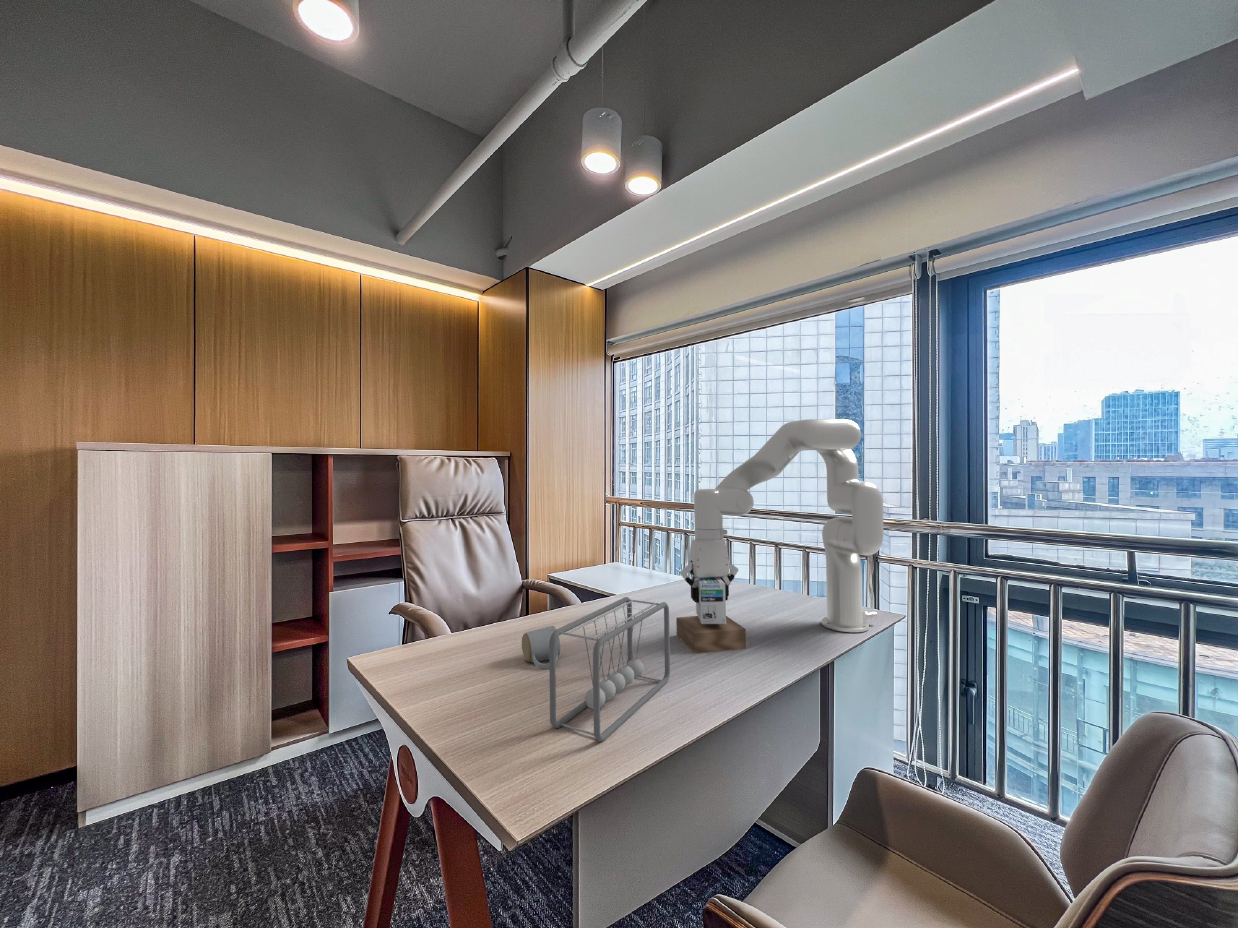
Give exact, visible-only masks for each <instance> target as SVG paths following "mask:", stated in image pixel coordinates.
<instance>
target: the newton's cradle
mask: <svg viewBox="0 0 1238 928" xmlns="http://www.w3.org/2000/svg"><path fill="white" fill-rule="evenodd" d="M633 603H639V604H640V603H641V604H649V606H647V607H645V608H640V610H639V607H638V608H636V607H634V609H635V610H639V611H638V612H637V613H633V606H632V605H633ZM625 607H626V611H625ZM621 608H623V611H621V613H622V614H624V619H623V617H618V619H620V620H622V621H620V622H618V621H617V615H616V613H619V611H618V610H619V609H621ZM662 609H663V627H664V628H663V629H664V630H663V631H664V632H663V634H664V674H663V675H664V676H663V678H662V679H658V678H654V677H649V676H645V675H642V674H643V673H644V669H645V668H644V663H643V662H642V661H641V660H640V659H638V658H637V657H638V654H639V653H638V651H639V646H640V639H641V633H642V631H641V630H642V625H643V620H645V619H647V618H650V617H651V616H652V615H654V614H656V613H657V612H659V611H661V610H662ZM611 613H613V614H614V616H612V618H613V619H614V620H615V624H614V623H612V626H611V627H609V628H608V626H607V624H609V625H611V623H609V622H607V619H606V618H608V617H609V618H611V616H608V615H610V614H611ZM603 617H604V621H605V622H604V621H600V623H601V624H602V623H603V624H605V629H603V631H602V629H601V628H597V624H596V622H597V623H599V621H598V620H599V619H602V618H603ZM640 622H641V623H640ZM592 623H594V628H593V627H592V629H594V630H595V634H596V635H595V636H592V637H591V636H586V630H585V627H586V628H588V629H591V627H589V626H588V625H590V624H592ZM638 623H640V629H639V634H638V635H639V636H638V642H637V648H636V655H635V656H636V657H634V654H633V633H634V627H635V625H637V624H638ZM582 628H583V633H584V635H580V634H575V633H574V632H575V631H577V630H580V629H582ZM597 630H600V631H602V632H600V633H597ZM625 631H627V632H626V633H627V638H626V640H627V642H626V643H627V658H626V659H627V660H626V665H625V663H624V658H623V653H622V651H623V650H622V649H623V642H624V637H625ZM620 634H622V640H621V639H620ZM562 635H564V636H568V637H569V636H570V637H575V638H579V639H584V640H585V645H586V653H587V658H588V665H589V669H590V676H591V682H592V687H591V688H590V689H588V690H587V692H586V694H585V696H584V699H585V700H584V701H582V702H581V703H580V704H579V705H577V706H576V707H574V708H573V709H572V710H570V711H569V712H568V713H566V714H565V715H564V716H562V717H561V718H560V719H558V720H557V674H556V673H557V672H556V671H557V669H556V668H557V667H556V666H557V663H556V652H555V644H556V639H557V637H558V636H559V637H560V636H562ZM615 637H618V643H619V648H620V652H619V657H618V658H619V659H618V665H617V671H615V667H614V666H615V665H614V660H613V649H614V645H615V643H614V642H615ZM612 639H613V641H612V646H611V643H610V640H612ZM587 640H590V641H595V642H594V646H593V649H592V667H591V661H590V656H589V655H590V654H589V647H588V643H587V642H588V641H587ZM607 642H608V645H609V650H610V660H609V665H608V672H607V678H605V673H604V666H603V662H602V659H603V654H604V653H603V652H604V646H605V643H607ZM670 647H671V646H670V607H669V605H668V603H667V602H665V601H662V602H660V603H659V602H652V601H651V602H650V601H643V600H636V599H630V597H627V596H624V597H622V598H621V599H619V600H616V601H614V602H611V603H609V604H608V605H606V606H604V607H601V608H599V609H597V610H595V611H593V612H591V613H589V614H587V615H583V617H580V618H579V619H576V620H574V621H571V622H569V623H568V624H566V625H563V626H562V627H559V628H556V630H555V631H554V632H553V634H552V635H551V638H550V641H549V662H548V664H549V669H548V670H549V673H548V674H549V722H550V726H551V727H553V728H555V729H560V728H561V727H564V728H567V729H570V730H574V731H577V732H580V733H583V734H584V733H585V734H587V735H591V736H594V739H595V740H596V741H597V742H599V743H602V742H604V741H605V740H606V739H607V738H609V737H610V736H611V735H612V734H613V733H614V732H615V731H616V730H617V729H619V728H620V727H621V726H622V725H623V724H624V723H625V722H627V720H628V719H629V718H631V716H632V715H634V713H636V712H637V711H638V710H639V709H640V708H641V707H643V706H644V704H646V703H647V702H648V701H649V700H651V698H652V697H654V695H655V694H657V692H659V691H660V690H661V689H662V688H663V687H664V686H666V684H667V683H668V682H669V679H670V676H671V675H670V674H671V663H670V662H671V656H670V654H671V653H670V652H671V651H670V649H671V648H670ZM601 648H602V650H601ZM621 660H622V666H620V662H621ZM611 664H612V670H613V673H611V674H610V668H611ZM601 669H602V676H603V680H601V677H600V676H601V673H600V672H601ZM635 678H641V679H645V680H650V681H655V682H658V683H656V684H655V686H653V687H652V688H651V689H650V690H649V691H648V692H647V693H645V695H643V696H642V697H641V698H640V699H638V701H636V702H635V703H634V704H633V705H632V706H631V707H630V708H628V709H627V710H626V711H625V712H624V713H622V715H620V717H618V718H617V719H616V720H615V721H614V722H613V723H612V724H610V726H608V727H607V728H606V729H605V730H604V731H603V732H601V708H602V707H603V706H604V704H605V702H608V701H610V700H612V699H613V698H614V697H615V695H616V694H617V693H621V692H622V691H623V690H624V688H625V686H628V685H629V686H630V685H631V684H632V683H633V682H634V679H635ZM587 707H589V708H590V709H592V710H593V731H589V730H585V729H582V728H578V727H576V726H571V725H569V724H567V723H568V722H569V721H570V720H572V719H573V718H575V716H577V715H579V713H581V712H582V711H583V710H585V709H586V708H587Z"/></svg>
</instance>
